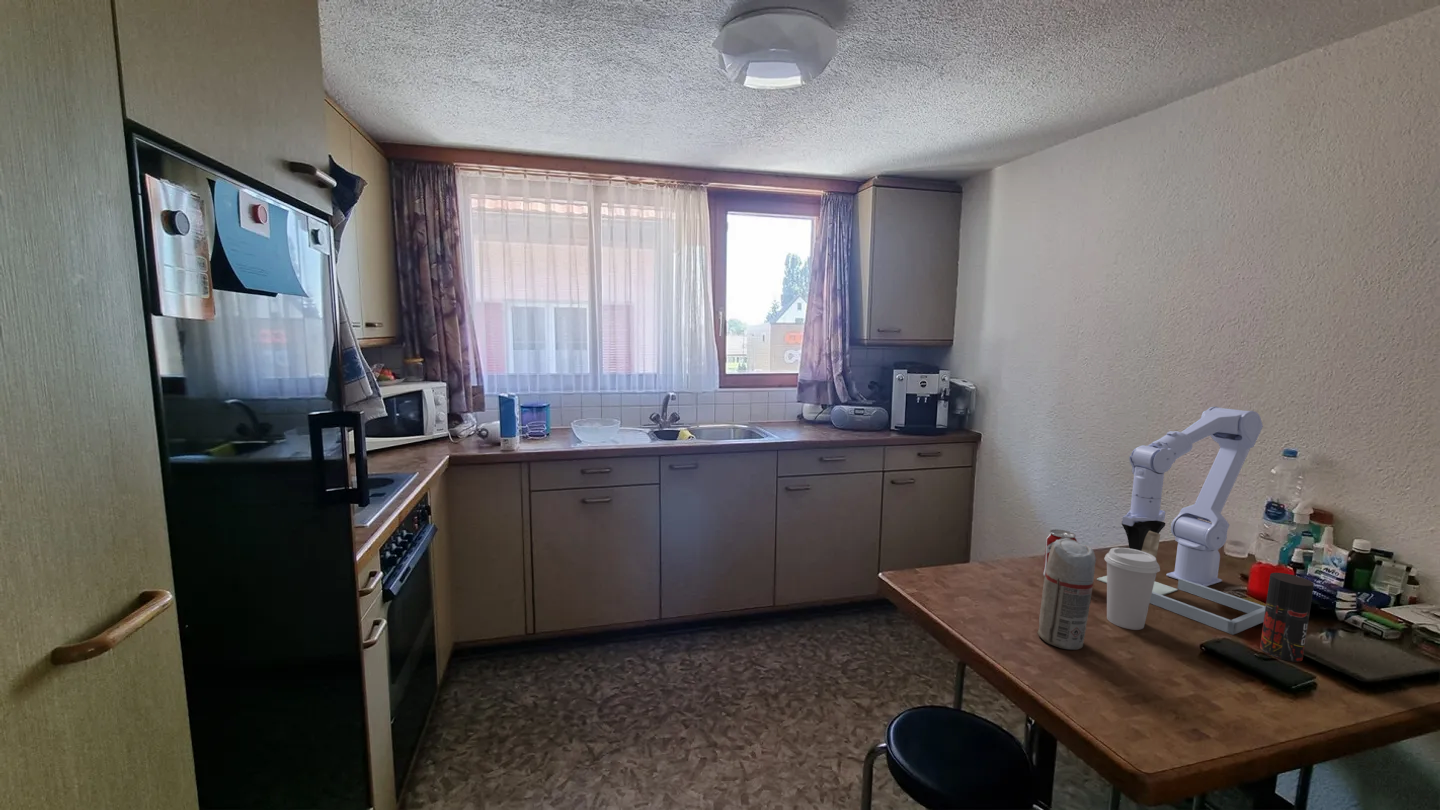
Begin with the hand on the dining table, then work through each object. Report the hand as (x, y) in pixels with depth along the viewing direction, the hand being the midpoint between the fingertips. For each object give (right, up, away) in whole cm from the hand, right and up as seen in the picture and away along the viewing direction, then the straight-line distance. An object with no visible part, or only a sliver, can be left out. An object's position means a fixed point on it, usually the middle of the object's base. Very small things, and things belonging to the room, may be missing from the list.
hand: (1140, 550), depth 141 cm
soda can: (-18, -8, +3) cm, 20 cm away
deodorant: (+6, -13, -29) cm, 32 cm away
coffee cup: (-16, -11, -18) cm, 27 cm away
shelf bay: (+6, -11, -11) cm, 17 cm away
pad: (0, -9, +1) cm, 9 cm away
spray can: (-35, -12, -26) cm, 45 cm away
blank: (0, -2, 0) cm, 2 cm away
